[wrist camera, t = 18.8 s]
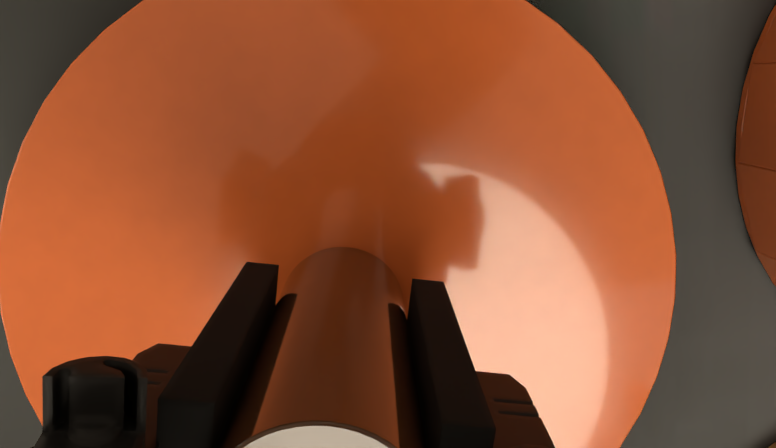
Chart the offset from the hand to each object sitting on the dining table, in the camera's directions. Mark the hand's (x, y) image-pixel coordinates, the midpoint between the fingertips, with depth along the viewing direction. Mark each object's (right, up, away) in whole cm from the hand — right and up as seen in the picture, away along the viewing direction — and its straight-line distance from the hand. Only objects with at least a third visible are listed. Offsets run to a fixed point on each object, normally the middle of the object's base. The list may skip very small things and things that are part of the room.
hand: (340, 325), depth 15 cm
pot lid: (0, 0, +2) cm, 2 cm away
